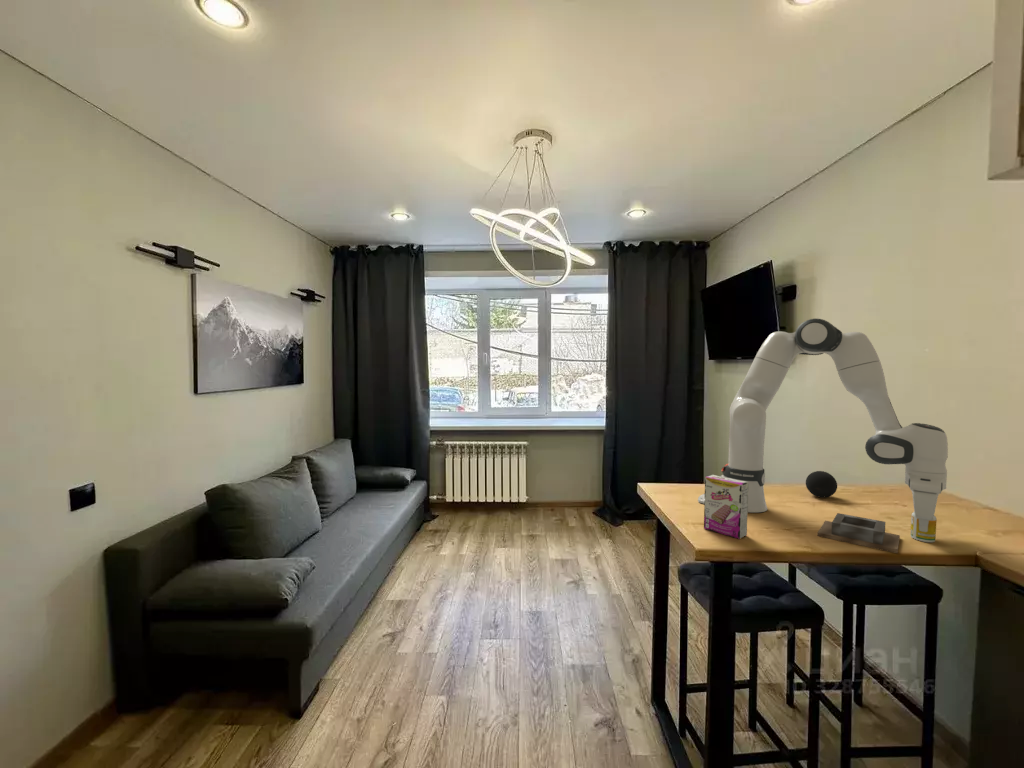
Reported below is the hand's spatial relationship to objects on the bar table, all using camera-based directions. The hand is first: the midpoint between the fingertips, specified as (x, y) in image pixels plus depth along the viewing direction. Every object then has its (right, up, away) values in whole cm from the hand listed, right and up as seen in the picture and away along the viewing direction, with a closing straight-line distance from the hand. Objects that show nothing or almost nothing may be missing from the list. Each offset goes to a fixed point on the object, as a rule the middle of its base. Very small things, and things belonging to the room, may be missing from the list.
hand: (923, 527), depth 130 cm
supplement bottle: (0, -4, 0) cm, 4 cm away
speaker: (-1, -2, +42) cm, 42 cm away
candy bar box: (-55, -4, +5) cm, 56 cm away
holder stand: (-18, -4, +2) cm, 18 cm away
